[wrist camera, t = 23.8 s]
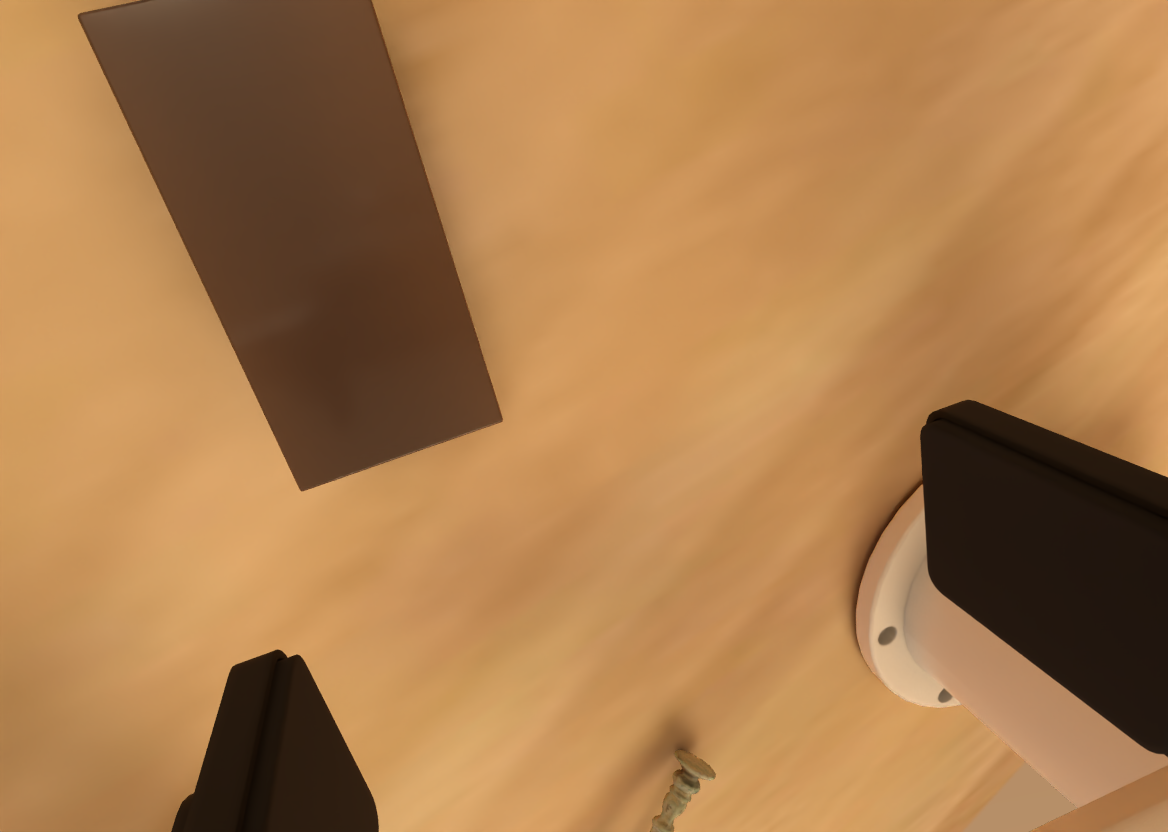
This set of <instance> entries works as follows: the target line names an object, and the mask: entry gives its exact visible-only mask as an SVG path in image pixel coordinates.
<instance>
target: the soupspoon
mask: <svg viewBox="0 0 1168 832" xmlns="http://www.w3.org/2000/svg"><path fill="white" fill-rule="evenodd" d="M674 754H675V757H676V758H677V760H678V761H679V762H680V764H681V766H682V769H681V770H676V771H675V772H674V773H673V783H674V784H673V785H671V786H670V792H668V793H667V794H666V796H665V798H664V801H663V806H662V808H663V809H662V813H661V815H658V816H655V817H654V818H653V819H652V823H653V827H652V828H651V830H650V832H674V826H673V821H674V819H675V818H677V817H678V816H680V815H681V814H682V813H683V812H684V810H685V809H686V806H687V803H688V802H690V801H691V795H692V794H696V793H697V792H699V791H700V783H699V781H698V778H701V779H704V780H714V779H715V777H716V774H715V772H714V771H713V769H712V768H711V767H710V765H708V764H707V763H706V762H704V761H703V760H702V759H700V758H697V757H696V756H695V755H693V754H691V753H689V752H687V751H684V750H677V751H675V753H674Z"/></svg>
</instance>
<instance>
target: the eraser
mask: <svg viewBox="0 0 1168 832" xmlns="http://www.w3.org/2000/svg"><path fill="white" fill-rule="evenodd" d="M78 19H79V21H80V24H81V26H82V28H83V30H84V32H85V34H86V36H87V38H88V41H89V43H90V45H91V47H92V49H93V51H94V53H95V55H96V58H97V60H98V62H99V64H100V66H101V68H102V70H103V73H104V75H105V77H106V79H107V81H108V83H109V85H110V87H111V90H112V92H113V94H114V96H115V98H116V100H117V102H118V104H119V107H120V109H121V111H122V113H123V115H124V117H125V119H126V121H127V124H128V126H129V128H130V130H131V132H132V134H133V136H134V138H135V141H136V143H137V145H138V147H139V149H140V151H141V153H142V155H143V158H144V160H145V162H146V164H147V166H148V168H149V170H150V172H151V175H152V177H153V179H154V181H155V183H156V185H157V187H158V189H159V192H160V194H161V196H162V198H163V200H164V202H165V204H166V206H167V209H168V211H169V213H170V215H171V217H172V219H173V221H174V223H175V226H176V228H177V230H178V232H179V234H180V236H181V238H182V240H183V243H184V245H185V247H186V249H187V251H188V253H189V255H190V257H191V260H192V262H193V264H194V266H195V268H196V270H197V272H198V274H199V277H200V279H201V281H202V283H203V285H204V287H205V289H206V291H207V294H208V296H209V298H210V300H211V302H212V304H213V306H214V308H215V311H216V313H217V315H218V317H219V319H220V321H221V323H222V325H223V328H224V330H225V332H226V334H227V336H228V338H229V340H230V342H231V345H232V347H233V349H234V351H235V353H236V355H237V357H238V359H239V362H240V364H241V366H242V368H243V370H244V372H245V374H246V376H247V379H248V381H249V383H250V385H251V387H252V389H253V391H254V393H255V396H256V398H257V400H258V402H259V404H260V406H261V408H262V410H263V413H264V415H265V417H266V419H267V421H268V423H269V425H270V428H271V430H272V432H273V434H274V436H275V438H276V440H277V442H278V445H279V447H280V449H281V451H282V453H283V455H284V457H285V459H286V462H287V464H288V466H289V468H290V470H291V472H292V474H293V476H294V479H295V481H296V483H297V485H298V487H299V489H300V490H301V491H305V490H308V489H311V488H314V487H317V486H320V485H322V484H325V483H328V482H331V481H334V480H337V479H340V478H343V477H345V476H348V475H351V474H354V473H357V472H360V471H363V470H365V469H368V468H371V467H374V466H377V465H380V464H383V463H385V462H388V461H391V460H394V459H397V458H400V457H403V456H405V455H408V454H411V453H414V452H417V451H420V450H423V449H426V448H428V447H431V446H434V445H437V444H440V443H443V442H446V441H448V440H451V439H454V438H457V437H460V436H463V435H466V434H468V433H471V432H474V431H477V430H480V429H483V428H486V427H489V426H491V425H494V424H497V423H500V422H502V421H503V418H502V415H501V412H500V408H499V405H498V402H497V399H496V396H495V392H494V389H493V386H492V383H491V380H490V376H489V373H488V370H487V367H486V364H485V361H484V357H483V354H482V351H481V348H480V345H479V341H478V338H477V335H476V332H475V329H474V325H473V322H472V319H471V316H470V313H469V310H468V306H467V303H466V300H465V297H464V294H463V290H462V287H461V284H460V281H459V278H458V274H457V271H456V268H455V265H454V262H453V258H452V255H451V252H450V249H449V246H448V243H447V239H446V236H445V233H444V230H443V227H442V223H441V220H440V217H439V214H438V211H437V207H436V204H435V201H434V198H433V195H432V192H431V188H430V185H429V182H428V179H427V176H426V172H425V169H424V166H423V163H422V160H421V156H420V153H419V150H418V147H417V144H416V140H415V137H414V134H413V131H412V128H411V125H410V121H409V118H408V115H407V112H406V109H405V105H404V102H403V99H402V96H401V93H400V89H399V86H398V83H397V80H396V77H395V74H394V70H393V67H392V64H391V61H390V58H389V54H388V51H387V48H386V45H385V42H384V38H383V35H382V32H381V29H380V26H379V22H378V19H377V16H376V13H375V10H374V7H373V3H372V0H141V1H136V2H131V3H126V4H122V5H117V6H112V7H107V8H102V9H97V10H93V11H88V12H83V13H80V14H78Z"/></svg>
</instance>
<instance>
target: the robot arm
mask: <svg viewBox="0 0 1168 832" xmlns="http://www.w3.org/2000/svg"><path fill="white" fill-rule="evenodd" d="M920 440H921V458H922V476H923V484H922V485H921V486H920V487H919V488H918V489H917V490H916V491H915V492H914V493H913V494H912V495H911V497H910V498H909V499H908V500H907V501H906V502H905V503H904V504H903V505H902V506H901V507H900V509H899V510H898V512H897V513H896V514H895V516H894V517H893V519H892V520H891V522H890V523H889V524H888V526H887V527H886V529H885V530H884V532H883V533H882V535H881V537H880V539H879V541H878V543H877V545H876V547H875V548H874V550H873V552H872V554H871V556H870V558H869V561H868V564H867V567H866V569H865V572H864V575H863V578H862V581H861V584H860V588H859V594H858V601H857V607H856V635H857V639H858V643H859V646H860V650H861V654H862V656H863V658H864V660H865V661H866V663H867V665H868V666H869V668H870V670H871V671H872V672H873V673H874V674H875V675H876V676H877V677H878V678H879V679H880V680H881V681H882V682H883V683H884V684H885V685H886V687H887V688H888V689H889V690H890V691H892V692H893V693H895V694H896V695H898V696H899V697H901V698H902V699H904V700H905V701H908V702H911V703H914V704H917V705H920V706H924V707H936V708H943V707H951V706H958V705H963V706H964V707H965V708H967V709H968V710H969V711H970V712H971V713H972V714H973V715H974V716H975V717H977V718H978V719H979V720H980V721H981V722H982V723H983V724H984V725H985V726H987V727H988V728H989V729H990V730H991V731H992V732H993V733H994V734H995V735H997V736H998V737H999V738H1000V739H1001V740H1002V741H1003V742H1004V743H1005V744H1007V745H1008V746H1009V747H1010V748H1011V749H1012V750H1013V751H1014V752H1015V753H1016V754H1018V755H1019V756H1020V757H1021V758H1022V759H1023V760H1024V761H1025V762H1026V763H1028V764H1029V765H1030V766H1031V767H1032V768H1033V769H1034V770H1035V771H1037V772H1038V773H1039V774H1040V775H1041V776H1042V777H1043V778H1044V779H1045V780H1046V781H1048V782H1049V783H1050V784H1051V785H1052V786H1053V787H1054V788H1055V789H1056V790H1058V791H1059V792H1060V793H1061V794H1062V795H1063V796H1064V797H1065V798H1066V799H1068V800H1069V801H1070V802H1071V803H1072V804H1073V805H1074V806H1075V807H1077V809H1075V810H1073V811H1071V812H1069V813H1067V814H1065V815H1063V816H1061V817H1059V818H1057V819H1055V820H1052V821H1050V822H1049V823H1046V824H1044V825H1042V826H1040V827H1038V828H1036V829H1034V830H1032V831H1030V832H1168V477H1165V476H1163V475H1160V474H1158V473H1155V472H1153V471H1150V470H1148V469H1145V468H1142V467H1140V466H1137V465H1135V464H1132V463H1130V462H1127V461H1125V460H1122V459H1120V458H1117V457H1115V456H1112V455H1110V454H1107V453H1105V452H1102V451H1100V450H1097V449H1095V448H1092V447H1090V446H1087V445H1085V444H1082V443H1080V442H1077V441H1074V440H1072V439H1069V438H1067V437H1064V436H1062V435H1059V434H1057V433H1054V432H1052V431H1049V430H1047V429H1044V428H1042V427H1039V426H1037V425H1034V424H1032V423H1029V422H1027V421H1024V420H1022V419H1019V418H1017V417H1014V416H1012V415H1009V414H1006V413H1004V412H1001V411H999V410H996V409H994V408H991V407H989V406H986V405H984V404H981V403H979V402H976V401H972V400H965V401H961V402H959V403H956V404H953V405H950V406H948V407H945V408H942V409H939V410H937V411H934V412H932V413H931V414H930V415H929V417H928V419H927V422H926V425H925V426H923V427H922V430H921V434H920ZM171 832H379V825H378V815H377V810H376V806H375V802H374V799H373V797H372V794H371V792H370V790H369V788H368V786H367V784H366V782H365V780H364V778H363V776H362V774H361V772H360V770H359V768H358V766H357V764H356V762H355V760H354V758H353V756H352V754H351V752H350V751H349V749H348V747H347V745H346V743H345V741H344V739H343V737H342V735H341V733H340V731H339V729H338V727H337V725H336V723H335V721H334V719H333V717H332V715H331V713H330V711H329V709H328V707H327V705H326V703H325V701H324V699H323V697H322V695H321V693H320V691H319V689H318V687H317V685H316V683H315V681H314V679H313V677H312V675H311V673H310V671H309V669H308V667H307V665H306V663H305V662H304V660H303V658H302V657H301V656H300V655H294V656H291V657H289V658H287V656H286V655H285V654H284V653H283V652H282V651H281V650H275V651H272V652H270V653H267V654H264V655H261V656H259V657H256V658H253V659H250V660H248V661H245V662H242V663H239V664H237V665H235V666H233V667H232V669H231V671H230V673H229V676H228V679H227V683H226V686H225V690H224V693H223V696H222V700H221V703H220V707H219V710H218V714H217V717H216V720H215V724H214V727H213V731H212V734H211V737H210V741H209V744H208V748H207V751H206V755H205V758H204V761H203V765H202V768H201V772H200V775H199V778H198V782H197V785H196V789H195V792H194V794H191V795H189V796H188V797H187V798H186V799H185V800H184V801H183V802H182V804H181V806H180V808H179V811H178V813H177V815H176V818H175V822H174V825H173V828H172V831H171Z"/></svg>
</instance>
